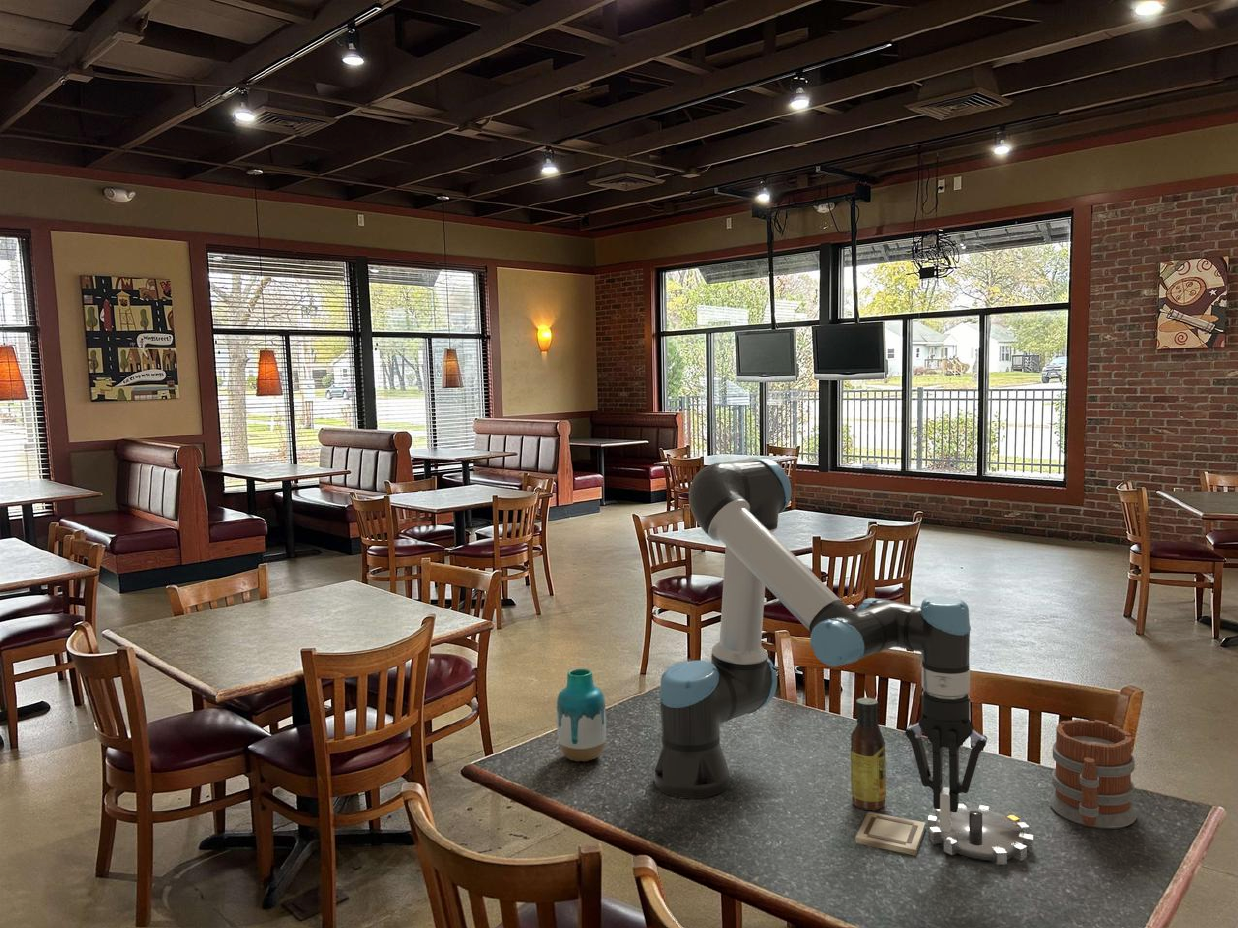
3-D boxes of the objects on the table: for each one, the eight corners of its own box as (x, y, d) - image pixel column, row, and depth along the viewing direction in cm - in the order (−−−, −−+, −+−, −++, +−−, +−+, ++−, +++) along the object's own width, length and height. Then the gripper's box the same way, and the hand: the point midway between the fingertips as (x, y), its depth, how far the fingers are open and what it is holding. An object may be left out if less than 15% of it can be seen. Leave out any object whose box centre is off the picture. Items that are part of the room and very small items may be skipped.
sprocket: (921, 848, 148) (921, 808, 147) (935, 807, 162) (935, 770, 161) (1030, 871, 140) (1030, 829, 140) (1035, 825, 154) (1035, 787, 153)
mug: (1137, 802, 162) (1138, 724, 161) (1135, 851, 146) (1137, 764, 145) (1052, 787, 170) (1053, 711, 168) (1042, 832, 153) (1043, 749, 152)
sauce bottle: (887, 813, 162) (886, 708, 160) (852, 810, 163) (851, 707, 161) (884, 796, 168) (883, 695, 166) (850, 794, 169) (849, 694, 167)
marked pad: (855, 842, 152) (855, 836, 152) (868, 816, 161) (868, 810, 160) (915, 855, 147) (915, 849, 147) (925, 827, 156) (925, 821, 156)
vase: (616, 753, 192) (613, 668, 190) (589, 772, 183) (585, 683, 181) (577, 744, 197) (573, 661, 196) (548, 762, 189) (544, 675, 187)
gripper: (900, 693, 145) (901, 830, 147) (985, 704, 139) (985, 846, 141) (908, 679, 152) (909, 810, 154) (990, 689, 146) (990, 825, 148)
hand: (946, 827), depth 148 cm, fingers closed
